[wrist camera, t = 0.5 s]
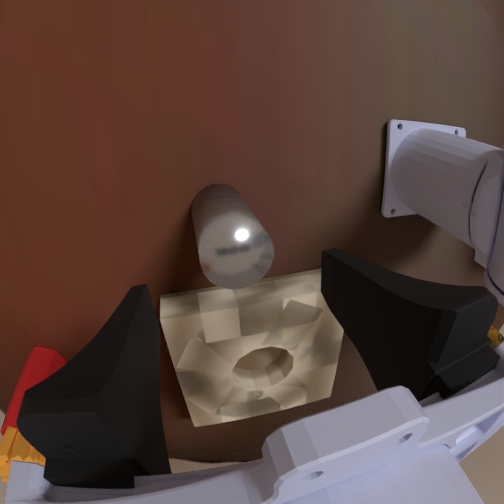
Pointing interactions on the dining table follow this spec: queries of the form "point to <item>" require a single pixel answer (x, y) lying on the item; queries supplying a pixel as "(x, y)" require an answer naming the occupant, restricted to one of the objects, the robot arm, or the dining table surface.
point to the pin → (229, 238)
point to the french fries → (13, 442)
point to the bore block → (252, 346)
